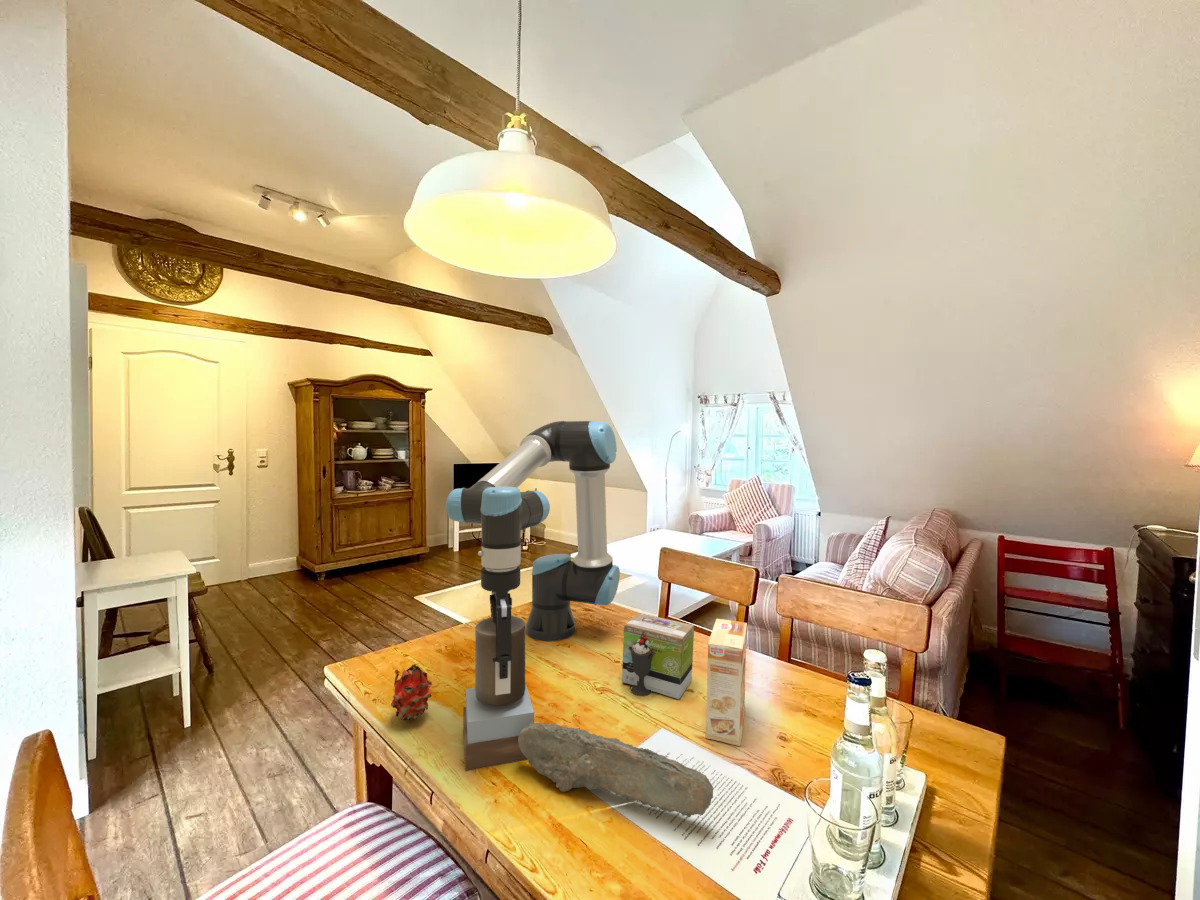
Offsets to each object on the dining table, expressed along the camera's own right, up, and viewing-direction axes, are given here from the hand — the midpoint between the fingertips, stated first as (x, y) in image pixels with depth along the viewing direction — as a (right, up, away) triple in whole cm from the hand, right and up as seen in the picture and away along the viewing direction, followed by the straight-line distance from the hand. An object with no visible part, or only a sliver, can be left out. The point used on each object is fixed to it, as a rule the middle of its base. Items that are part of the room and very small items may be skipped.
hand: (500, 679), depth 95 cm
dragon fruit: (-21, -12, +8) cm, 25 cm away
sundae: (+29, -12, +20) cm, 38 cm away
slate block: (0, -8, 0) cm, 8 cm away
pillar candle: (0, -3, 0) cm, 3 cm away
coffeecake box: (+47, -13, +8) cm, 49 cm away
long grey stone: (+21, -14, -13) cm, 28 cm away
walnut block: (0, -13, 0) cm, 13 cm away
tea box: (+34, -12, +24) cm, 43 cm away
